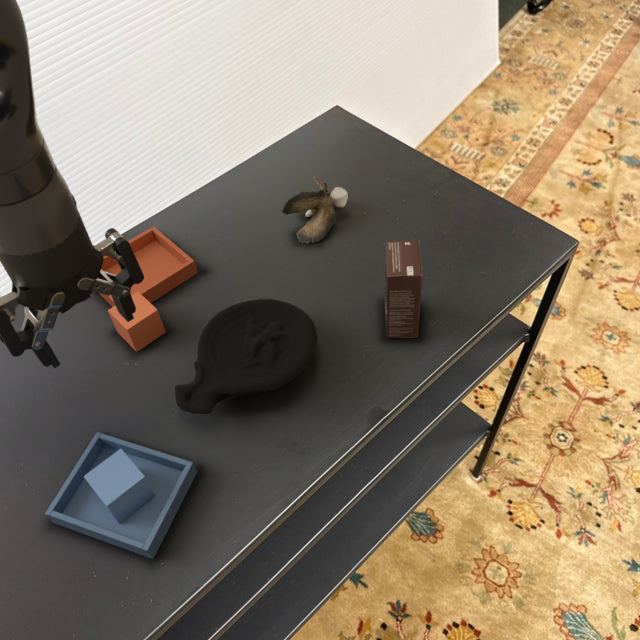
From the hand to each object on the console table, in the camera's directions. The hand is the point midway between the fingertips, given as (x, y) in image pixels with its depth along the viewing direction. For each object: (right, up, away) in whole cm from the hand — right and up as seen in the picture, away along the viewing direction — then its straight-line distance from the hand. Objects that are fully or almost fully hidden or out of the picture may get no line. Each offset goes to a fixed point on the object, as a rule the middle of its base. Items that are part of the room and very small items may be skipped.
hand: (90, 338), depth 66 cm
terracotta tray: (-2, +8, +26) cm, 27 cm away
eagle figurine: (+23, +17, +31) cm, 42 cm away
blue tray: (+2, -18, +4) cm, 18 cm away
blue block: (+2, -17, +4) cm, 18 cm away
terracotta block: (0, 0, +19) cm, 19 cm away
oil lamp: (+14, -5, +14) cm, 21 cm away
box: (+34, +2, +19) cm, 39 cm away
